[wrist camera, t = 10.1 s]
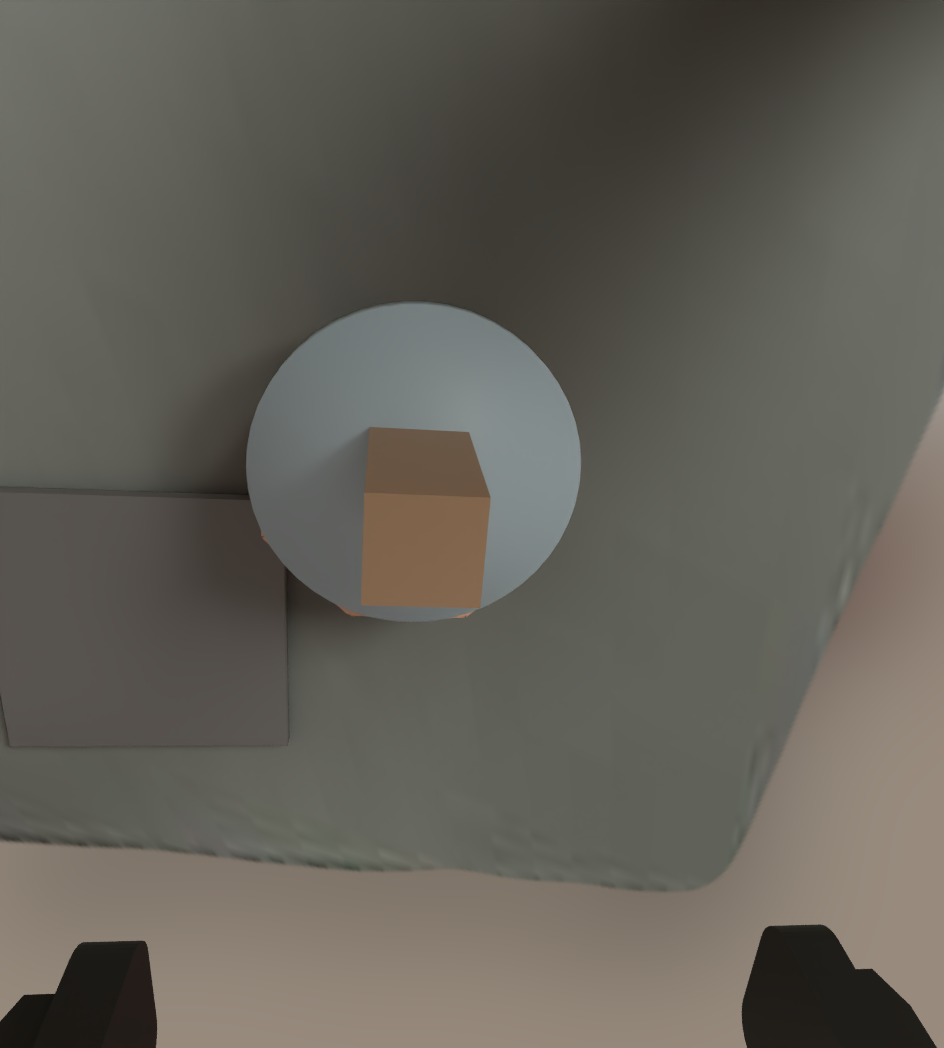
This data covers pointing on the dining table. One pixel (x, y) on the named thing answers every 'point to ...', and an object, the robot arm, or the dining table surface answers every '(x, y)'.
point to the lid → (413, 462)
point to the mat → (140, 620)
